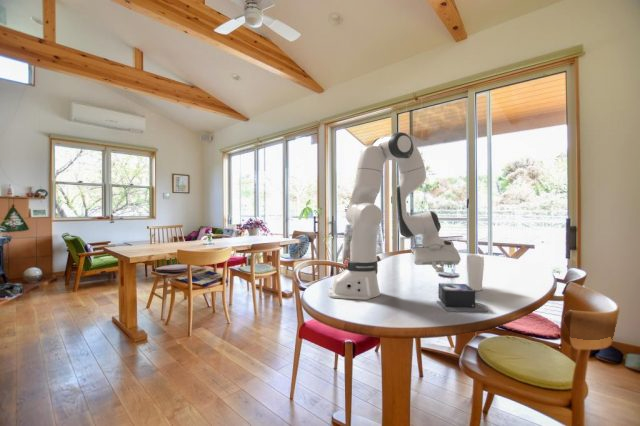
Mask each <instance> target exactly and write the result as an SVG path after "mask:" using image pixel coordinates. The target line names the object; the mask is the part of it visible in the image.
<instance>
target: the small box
mask: <svg viewBox="0 0 640 426" xmlns="http://www.w3.org/2000/svg"><path fill="white" fill-rule="evenodd" d="M438 299H439V301H442V303H443V304H444V305H445V307H468V308H475V302H476V291H474V290H473V289H471V288H470V287H469V285H468V284H467V283H447V282H445V283H441V282H438Z"/></svg>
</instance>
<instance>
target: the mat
mask: <svg viewBox="0 0 640 426" xmlns="http://www.w3.org/2000/svg"><path fill="white" fill-rule="evenodd" d="M436 303H437V304H438V305H439V306H440V307H441V308H442V309H443V310H444V311H446V313H488V312H489V310H488V309H486V308H485V307H483V306H482V305H481V304H479V303H477V302H476V301H475V308H468V307H445V305H444V304H443V303H442V301H441V300H436Z"/></svg>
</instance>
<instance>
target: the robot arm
mask: <svg viewBox="0 0 640 426" xmlns="http://www.w3.org/2000/svg"><path fill="white" fill-rule="evenodd" d="M386 161H395V162H396V164H397V165H398V166H397V167H398V170H399V175H400V180H399V183H397V185H396V203H397V204H396V205H397V215H398V223H397V224H398V226H397V228H398V232H399V234H400V235H401V236H403V237H404V238H406V239H408V238H409V239H410V238H412V237H415V236H419V237H420V239H421V245H422V246H414V247H412V248H411V249H410V250H411V254H412V255H413V256H412V257H413V263H414V265H417V266H426V265H427V266H431V268H433V269H434V270H435V272H436V273H444V272H445V269H444V266H449V265H452V266H453V265H454V266H455V265H457V266H458V265H459V264H460V262H461V256H460V253H459V250H458V249H457V248H456V247H455V246H454V242H453V241H449V240H445V239H442V238H441V237H440V231H441V223H440V220H439V218H438V214H437V213H436V212H434V211H431V210H428V211H423V212H421V213H415V214H412V215H407V204H406V203H407V202H406V201H407V197H408V196H410V195H411V194H412V193H413V192H415V191H416V190H418V189H419V188H420V187H421V186H422V185H423V184H424V182H425V181H426V178H427V172H426V167H425V164H424V163H425V162H424V161H423V157H422V155H421V152H420V150H419V149H418V147H417V146H416V145H414V143H413V140H412V138H411V137H410V136H409V135H408V134H407V133H406V132H399V131H398V132H395V133H390V134H386V135H383V136H381V137H378V138H376V139H375V140H373V142H372V143H371V144H369V145H367V146H364V148H362V150H361V153H360V155H359V160H358V162H357V166H356V168H357V169H356V175H355V179H354V186H353V190H352V194H351V196H350V198H349V199H350V200H349V204H348V207H347V210H346V211H345V218H346V220H347V222H348V223H349V224H350V226H352V228H353V230H352V235H351V239H350V242H349V248H350V251H349V255H350V257H349V259H350V260H347V259H345V260H344V265H345V269H344V270H342V271H341V272H340V273H339V274H337V276H335V277H334V279H333V283H332V287H329V288H328V290H327V295H328V297H330V298H332V299H333V298H334V299H347V300H365V301H367V300H368V301H369V300H370V299H372V298H375V297H379V296H380V295H381V291H380V288H379V287H380V286H379V283H378V282H379V281H378V269H379V268H378V267H379V265H378V264H379V263H378V261H377V239H378V234H379V228H380V225H381V224H382V221H383V212H382V210H381V208H380V207H379V206H378V205H376V204H375V202H376V200H377V197H378V195H379V193H380V192H381V187H382V186H381V185H382V180H383V172H384V165H385V163H386Z"/></svg>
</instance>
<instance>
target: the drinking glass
mask: <svg viewBox="0 0 640 426" xmlns="http://www.w3.org/2000/svg"><path fill="white" fill-rule="evenodd" d="M484 268H485V258H484V255H481V254H479V255H478V254H468V255H466V269H467V270H466V271H467V282H468V286H469V287H470V288H471V289H473V290H474V291H475V292H481V291H482V290H483V280H484V270H485V269H484Z"/></svg>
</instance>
